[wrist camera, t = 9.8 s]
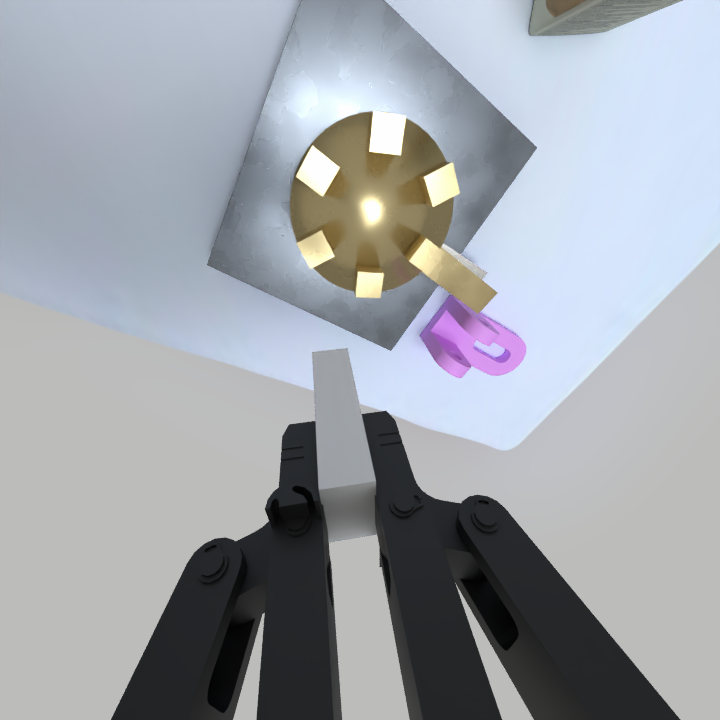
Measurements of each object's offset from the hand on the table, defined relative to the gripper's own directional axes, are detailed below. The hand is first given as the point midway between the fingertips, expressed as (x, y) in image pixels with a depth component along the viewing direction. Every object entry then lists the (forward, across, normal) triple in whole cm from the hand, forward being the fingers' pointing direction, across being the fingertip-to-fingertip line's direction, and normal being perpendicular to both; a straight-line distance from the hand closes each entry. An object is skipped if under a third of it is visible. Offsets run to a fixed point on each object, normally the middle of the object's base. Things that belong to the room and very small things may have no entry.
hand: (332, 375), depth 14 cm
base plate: (+19, +6, +3) cm, 20 cm away
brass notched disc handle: (+16, +7, +2) cm, 18 cm away
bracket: (+19, +18, -11) cm, 28 cm away
